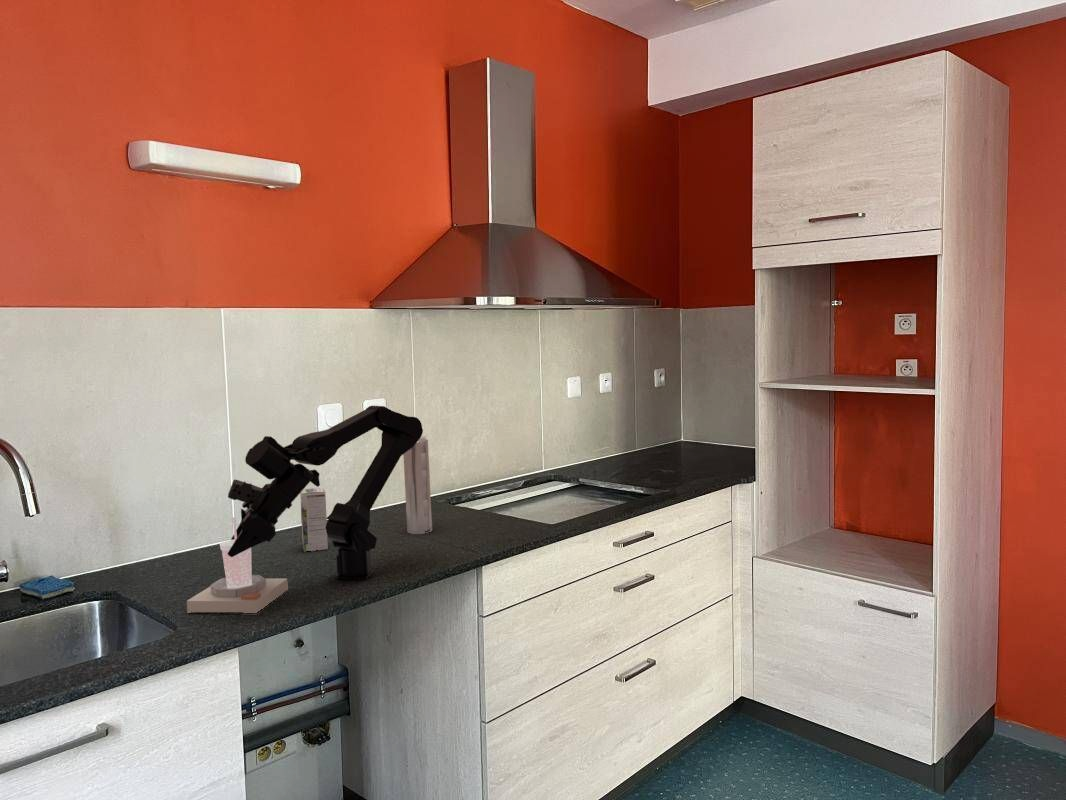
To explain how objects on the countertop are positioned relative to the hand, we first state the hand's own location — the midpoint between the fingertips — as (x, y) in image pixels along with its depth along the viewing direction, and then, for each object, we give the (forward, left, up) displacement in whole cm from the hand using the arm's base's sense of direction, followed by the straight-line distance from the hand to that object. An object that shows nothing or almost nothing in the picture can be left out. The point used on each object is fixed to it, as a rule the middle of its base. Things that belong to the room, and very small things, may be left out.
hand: (229, 551), depth 161 cm
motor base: (-1, -1, -10) cm, 10 cm away
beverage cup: (-1, -1, -8) cm, 8 cm away
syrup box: (-1, -40, -11) cm, 41 cm away
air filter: (-23, -56, -11) cm, 61 cm away
